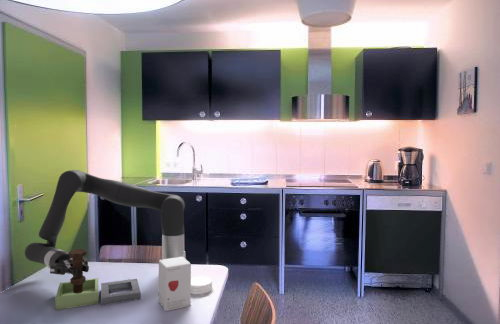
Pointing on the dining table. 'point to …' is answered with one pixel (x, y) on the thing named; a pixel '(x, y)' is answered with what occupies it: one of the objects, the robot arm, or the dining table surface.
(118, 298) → the square frame
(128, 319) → the dining table surface
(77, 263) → the bolt
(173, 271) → the supplement box
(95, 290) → the tray
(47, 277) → the dining table surface
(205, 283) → the white round disc
